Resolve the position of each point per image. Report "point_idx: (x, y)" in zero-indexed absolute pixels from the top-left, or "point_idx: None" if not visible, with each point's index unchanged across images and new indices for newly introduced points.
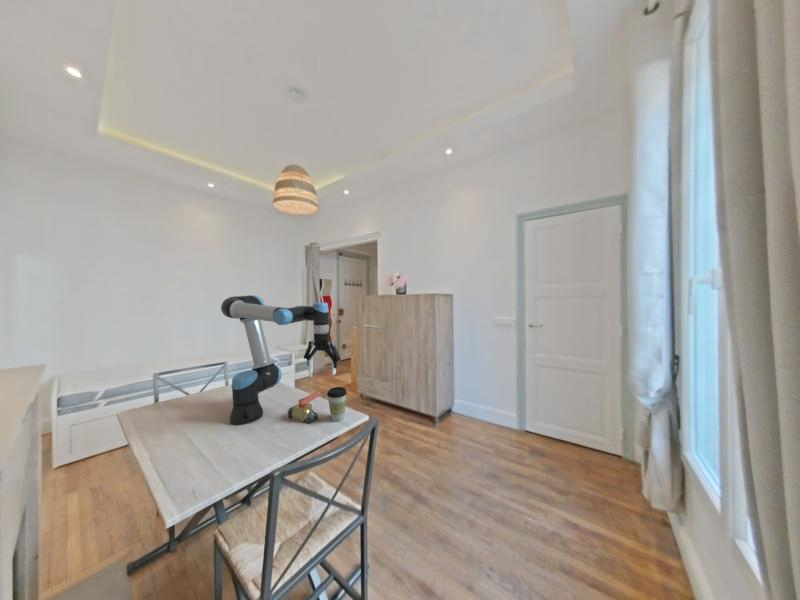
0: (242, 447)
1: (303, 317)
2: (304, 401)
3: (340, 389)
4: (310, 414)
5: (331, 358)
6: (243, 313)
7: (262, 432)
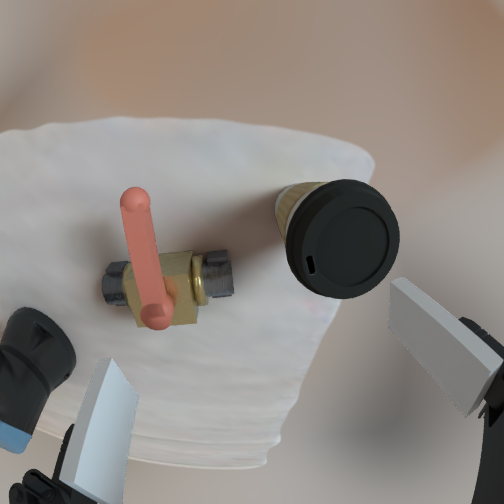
0: (180, 413)
1: None
2: (171, 312)
3: (362, 221)
4: (222, 294)
5: (487, 451)
6: None
7: (149, 374)
